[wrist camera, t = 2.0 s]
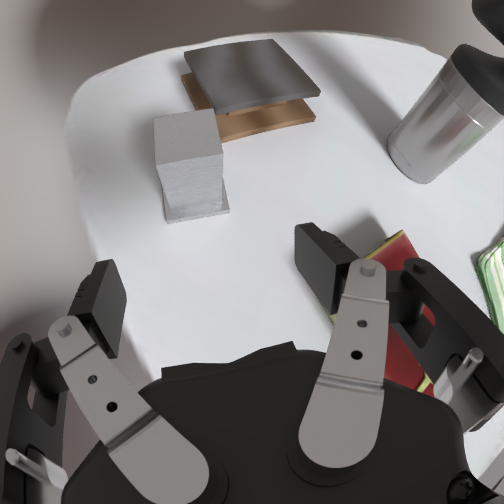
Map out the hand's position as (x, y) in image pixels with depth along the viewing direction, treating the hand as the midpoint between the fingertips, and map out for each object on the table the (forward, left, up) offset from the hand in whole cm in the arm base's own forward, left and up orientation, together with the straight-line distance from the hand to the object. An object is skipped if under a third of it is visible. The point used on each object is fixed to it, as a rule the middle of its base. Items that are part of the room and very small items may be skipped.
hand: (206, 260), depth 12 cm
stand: (-13, -23, -14) cm, 30 cm away
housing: (-2, -11, -15) cm, 19 cm away
